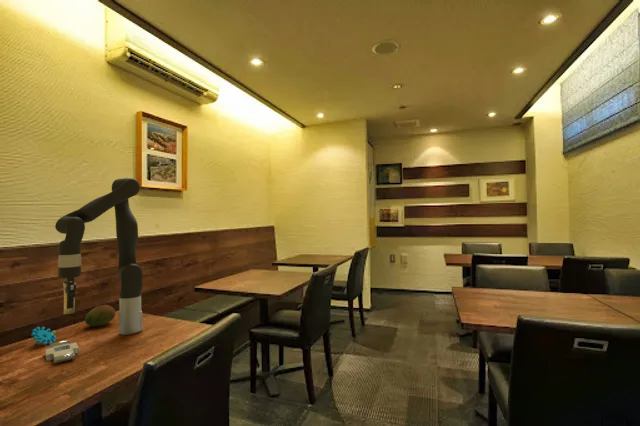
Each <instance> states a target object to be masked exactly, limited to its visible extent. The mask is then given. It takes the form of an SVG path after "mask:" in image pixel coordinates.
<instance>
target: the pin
mask: <svg viewBox="0 0 640 426" xmlns="http://www.w3.org/2000/svg"><path fill="white" fill-rule="evenodd" d="M69 295H72V293H71V294H69ZM75 301H76V297H75V298H74V307H73V308H70V309H67V299H66V294H65V291H64V290H63V315H71V314H74V313H75V309H76V308H75V307H76V306H75V305H76V304H75V303H76V302H75Z"/></svg>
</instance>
